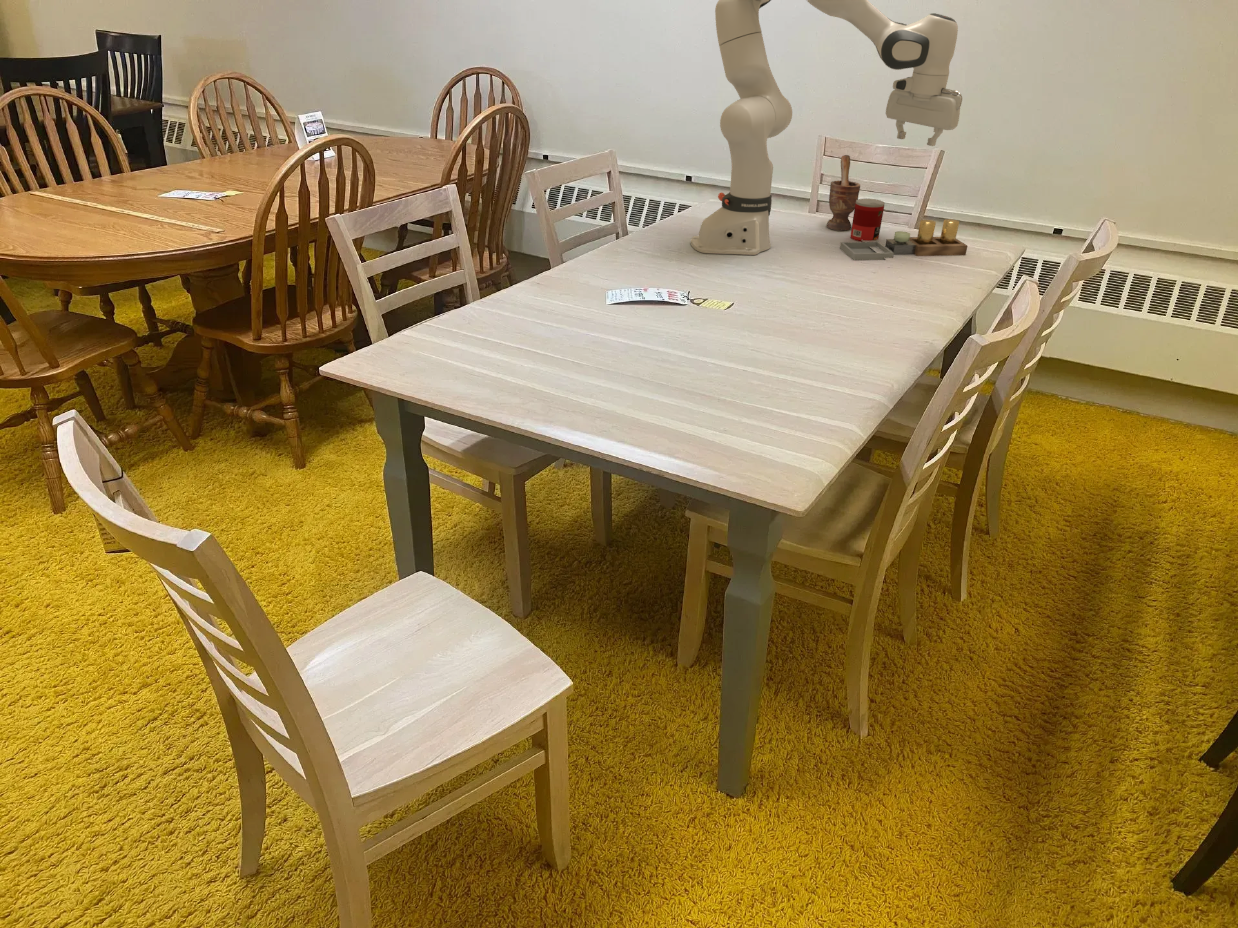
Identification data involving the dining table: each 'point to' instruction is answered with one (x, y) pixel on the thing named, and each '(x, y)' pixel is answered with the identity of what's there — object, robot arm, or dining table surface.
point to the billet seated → (949, 231)
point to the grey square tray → (865, 250)
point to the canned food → (867, 219)
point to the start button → (901, 237)
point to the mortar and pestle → (842, 198)
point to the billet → (926, 232)
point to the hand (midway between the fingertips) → (915, 142)
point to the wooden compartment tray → (939, 248)
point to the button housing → (900, 247)
